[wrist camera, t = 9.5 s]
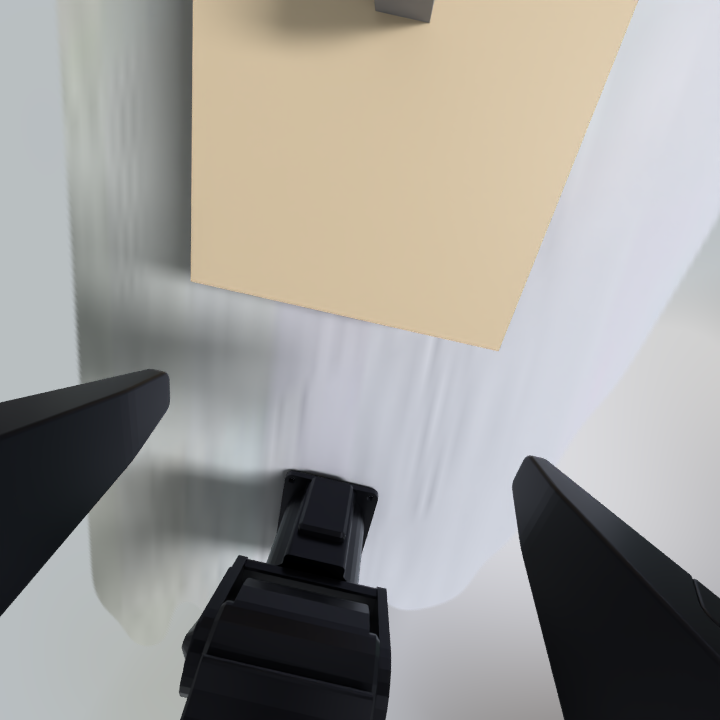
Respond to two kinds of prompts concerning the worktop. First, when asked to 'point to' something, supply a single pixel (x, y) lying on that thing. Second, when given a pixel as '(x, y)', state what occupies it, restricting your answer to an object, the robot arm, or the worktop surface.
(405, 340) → the worktop surface
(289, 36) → the sliding lid
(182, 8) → the worktop surface
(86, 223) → the worktop surface
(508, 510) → the worktop surface
